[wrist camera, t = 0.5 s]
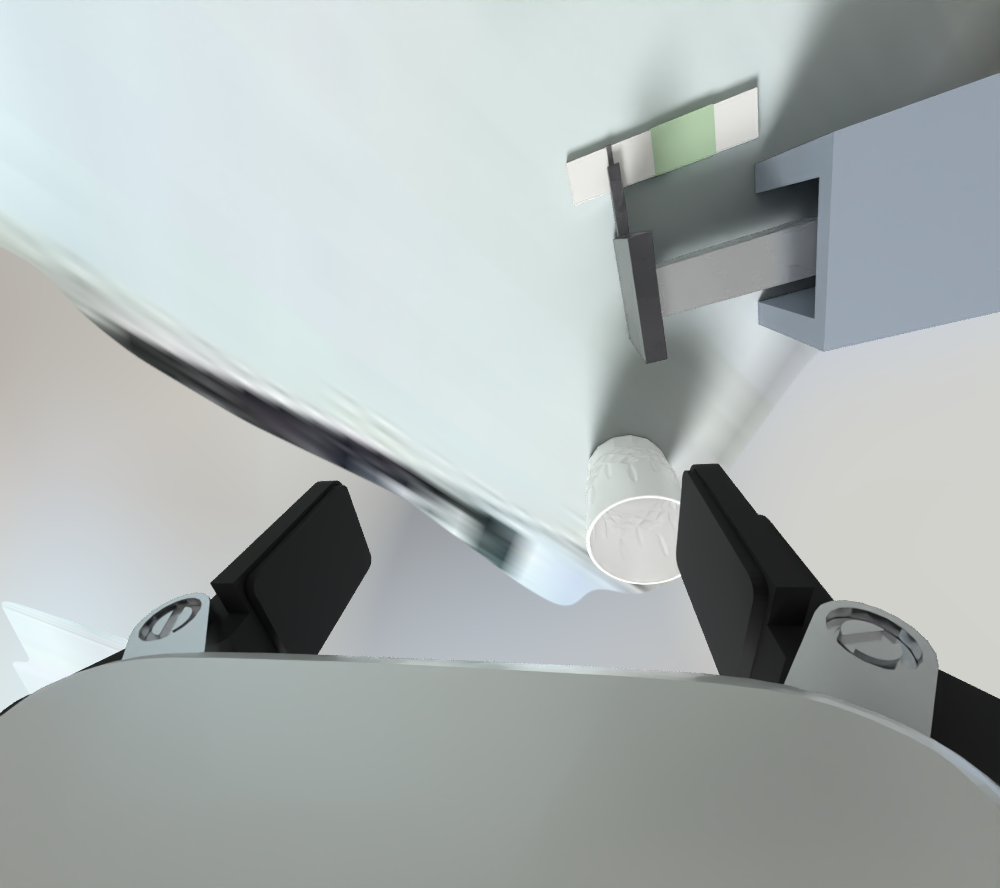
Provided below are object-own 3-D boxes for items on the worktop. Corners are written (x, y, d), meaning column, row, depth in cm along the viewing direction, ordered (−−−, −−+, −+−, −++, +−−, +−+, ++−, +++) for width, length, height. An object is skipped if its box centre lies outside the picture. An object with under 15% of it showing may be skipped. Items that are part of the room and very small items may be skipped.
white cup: (664, 505, 36) (695, 589, 27) (578, 500, 37) (582, 579, 28) (678, 429, 32) (721, 499, 24) (583, 426, 34) (590, 491, 25)
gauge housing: (969, 2, 20) (1194, -131, 13) (927, 281, 25) (1067, 296, 18) (565, 164, 25) (566, 133, 18) (604, 363, 31) (616, 398, 24)
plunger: (780, 102, 22) (863, 48, 16) (781, 298, 27) (845, 314, 20) (601, 171, 25) (613, 147, 19) (629, 338, 29) (646, 364, 23)
